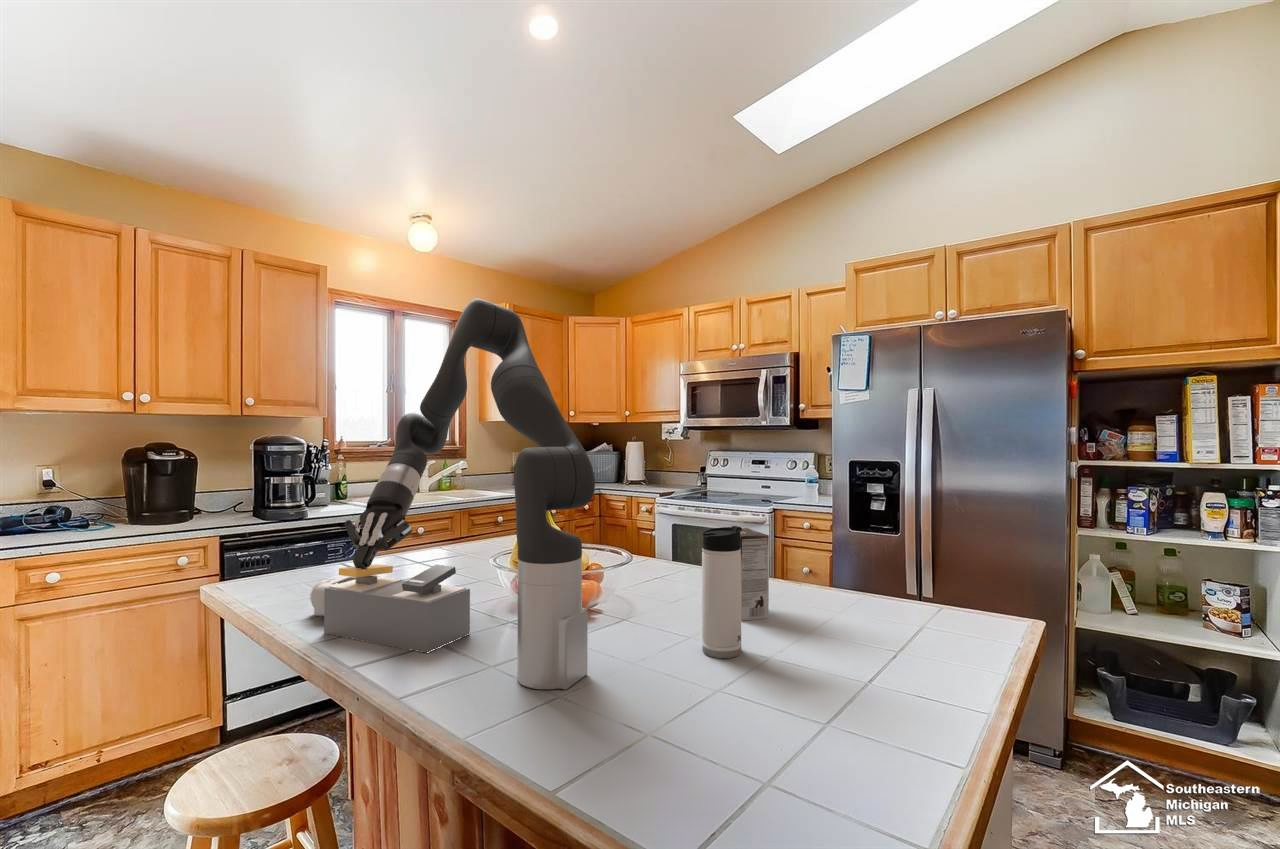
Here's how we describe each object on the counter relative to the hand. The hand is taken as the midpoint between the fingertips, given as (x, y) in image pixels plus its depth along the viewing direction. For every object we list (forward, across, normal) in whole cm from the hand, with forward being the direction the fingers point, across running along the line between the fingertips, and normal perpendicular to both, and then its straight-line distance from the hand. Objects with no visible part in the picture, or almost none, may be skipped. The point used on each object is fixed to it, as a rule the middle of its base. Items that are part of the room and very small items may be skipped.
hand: (359, 567), depth 104 cm
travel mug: (+11, +64, +5) cm, 65 cm away
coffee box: (-4, +69, +20) cm, 72 cm away
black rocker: (+2, +14, -1) cm, 14 cm away
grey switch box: (+8, +7, +8) cm, 13 cm away
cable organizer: (0, -9, +17) cm, 20 cm away
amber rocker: (-1, 0, +3) cm, 3 cm away
